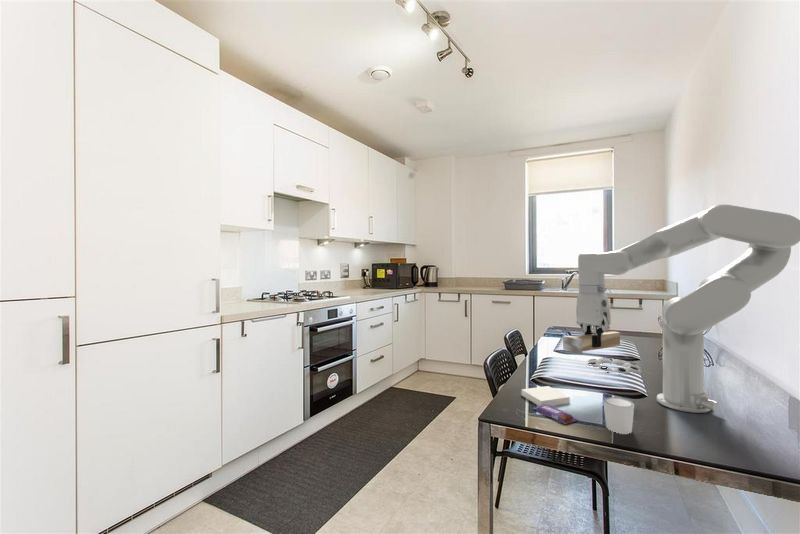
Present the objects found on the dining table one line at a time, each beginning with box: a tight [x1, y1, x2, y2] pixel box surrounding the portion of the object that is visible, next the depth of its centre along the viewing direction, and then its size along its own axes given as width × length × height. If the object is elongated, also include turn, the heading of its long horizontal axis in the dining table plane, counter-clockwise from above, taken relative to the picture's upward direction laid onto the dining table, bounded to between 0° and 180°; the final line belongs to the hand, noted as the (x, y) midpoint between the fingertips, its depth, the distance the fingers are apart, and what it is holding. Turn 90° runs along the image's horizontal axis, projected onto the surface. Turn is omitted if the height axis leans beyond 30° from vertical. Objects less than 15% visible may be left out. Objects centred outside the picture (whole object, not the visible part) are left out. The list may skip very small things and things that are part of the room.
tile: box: [521, 385, 571, 407], centre depth 113 cm, size 10×2×10 cm
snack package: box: [532, 405, 579, 425], centre depth 102 cm, size 12×2×5 cm
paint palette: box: [586, 357, 642, 374], centre depth 143 cm, size 20×20×2 cm
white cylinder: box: [602, 396, 635, 435], centre depth 93 cm, size 7×7×7 cm
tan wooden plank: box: [562, 330, 621, 355], centre depth 119 cm, size 7×19×4 cm, turn 108°
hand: (592, 345), depth 119 cm, fingers closed on tan wooden plank, 2 cm apart
